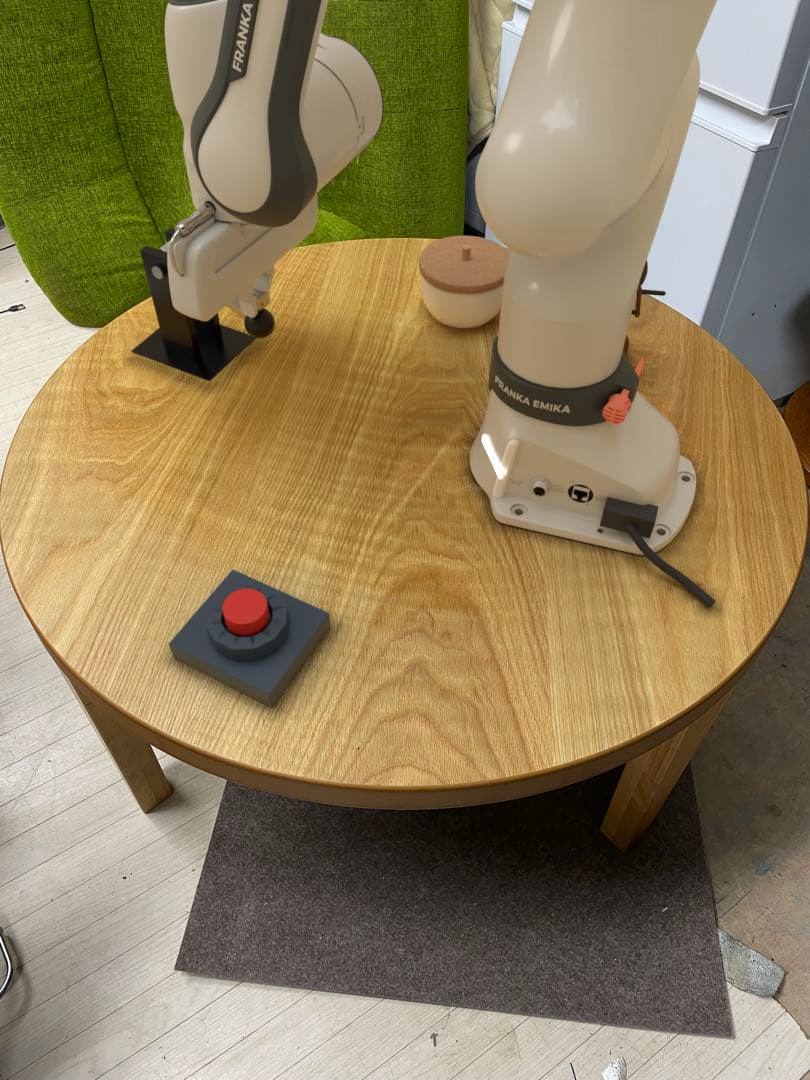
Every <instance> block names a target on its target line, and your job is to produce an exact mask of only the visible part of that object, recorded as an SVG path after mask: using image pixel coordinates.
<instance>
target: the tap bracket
mask: <svg viewBox="0 0 810 1080" xmlns="http://www.w3.org/2000/svg"><path fill="white" fill-rule="evenodd" d="M175 232H176V231H175V228H174V227H169V228H167V230H165V231H164V236H165V241H166V243H167V242H169V241H170V240H171V239H172V237H173V235H174V233H175ZM139 251H140V255H141V260H142V263H143V268H144V272H145V276H146V279H147V283H148V288H149V291H150V296H151V299H152V304H153V308H154V311H155V316H156V319H157V323H158V327H159V328H157V329H156V330H155V331H154V332H152V333H151V334H150V335H149V336H147V337H146V338H144V340H143V341H141V342H140V343H139V344H137V346H135V347H134V348H133V349H132V350H130V352H131V353H133V354H135V355H138V356H141V357H143V358H146V359H149V360H152V361H154V362H157V363H159V364H162V365H164V366H168V367H169V368H172V369H175V370H178V371H180V372H183V373H185V374H188V375H191V376H193V377H196V378H199V379H201V380H205V381H206V382H211V381H212V380H213V379H214V378H215V377H216V376H217V375H219V374H220V372H221V371H222V370H224V369H225V368H226V367H227V366H228V365H229V364H230V363H231V362H232V361H233V360H235V359H236V357H238V356H239V355H240V354H241V353H242V352H243V351H244V350H246V348H247V347H248V346H250V345H251V344H252V343H253V342H254V341H255V340H256V339H257V338H255V337H253V336H251V335H250V334H249V333H245V332H242V331H240V330H237V329H234V328H231V327H229V326H226V325H223V324H221V322H220V318H219V317H220V316H219V312H218V313H217V314H216V315H215V316H213V317H212V318H211V319H210V320H208V321H201V320H197V319H194V318H191V317H189V316H186V315H184V314H182V313H180V312H179V311H177V310H176V309H175V308H174V306H173V303H172V299H171V293H170V285H169V276H168V265H167V253H168V252H165V251H162V250H160V248H156V247H153V246H149V245H144V246H143V247H141V248H140V249H139Z"/></svg>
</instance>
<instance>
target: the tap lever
mask: <svg viewBox="0 0 810 1080" xmlns="http://www.w3.org/2000/svg"><path fill="white" fill-rule="evenodd" d="M170 241H171V240H170ZM170 241H169V242H170ZM169 242H167V241H166V242H165V244H163V245H162V246H161V247H159V250H162V251H165V252H168V244H169ZM225 307H227V308H228V309H229V310H230V311H232V312H233V313H234V314H236V315H237V316H239V317H240V318H241V319H242V320H243V325H244V328H245V331H246V332H247V334H248V335H251V336H253V337H255V338H256V339H259V340H260V339H266V338H268V337H269V336H271V334H272V333H273V332H274V330H275V328H276V327H275V326H276V321H275V317H274V315H273V313H272V312H271V311H270V310H268V309H267V308H266V307H265V308H264V309H263V310H262V311H261V312H259V313H258V314H257V315H256V316H255V317H254V318H252V317H249V316H246V315H244V314H243V313H242V312H241V309H240V303H239V300H238V299H237V298H234V299H233V300H232V301H231V302H230V303H229V304H227V305H226V306H225Z"/></svg>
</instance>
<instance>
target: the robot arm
mask: <svg viewBox="0 0 810 1080" xmlns="http://www.w3.org/2000/svg"><path fill="white" fill-rule="evenodd" d="M328 2H329V0H169V1H168V3H167V5H166V9H165V15H164V45H165V54H166V63H167V68H168V77H169V80H170V82H169V83H170V87H171V95H172V99H173V103H174V108H175V109H176V112H177V114H178V116H179V119H180V120H181V124H182V128H183V142H182V151H183V157H184V164H185V169H186V174H187V178H188V179H187V180H188V184H189V188H190V189H189V190H190V194H191V200H192V204H193V207H194V209H195V210H194V211H193V212H192V213H191V214H190V215H189V216H188V217H186V218H183V219H182V220H180V221H179V222H178V223H177V224H176V225H175V227H174V229H175V231H176V232H175V233H174V235H173V237H172V239H171V241H170V242H169V244H168V253H167V265H168V276H169V285H170V293H171V299H172V303H173V306H174V308H175V309H176V310H177V311H179V312H180V313H182V314H184V315H186V316H189V317H191V318H194V319H197V320H201V321H208V320H210V319H211V318H212V317H213V316H215V315H216V314H217V313H218V314H219V312H221V311H222V310H223V309H224V308H225V307H227V306H226V305H227V304H229V303H230V302H231V301H232V300H233V299H234V298H237V299H238V300H239V303H240V309H241V312H242V313H243V314H244V315H246V316H249V317H252V318H254V317H255V316H256V315H257V314H258V313H259V312H261V311H262V310H263V309H264V308H265V309H266V307H268V306H269V305H270V304H271V302H272V301H271V292H270V290H271V287H272V284H273V279H274V276H275V272H276V269H275V265H276V264H277V262H279V261H280V260H281V259H283V258H284V257H285V256H286V255H287V254H288V253H290V252H291V251H292V250H293V249H294V248H295V247H297V245H299V244H300V243H301V242H302V241H303V240H304V239H306V238H307V237H308V236H309V235H311V234H312V233H313V232H314V230H315V228H316V225H317V221H318V218H319V199H318V193H319V192H320V191H321V190H322V189H323V188H324V187H325V186H327V184H329V183H330V182H331V181H332V180H333V179H334V178H335V177H336V176H337V175H338V174H340V172H342V171H343V170H344V169H345V168H346V167H348V165H349V164H350V163H351V162H352V161H353V160H354V159H355V158H357V156H359V155H360V153H362V151H364V150H365V149H366V147H368V145H369V144H370V143H371V142H372V141H373V140H374V139H375V138H376V137H377V135H378V134H379V131H380V129H381V126H382V123H383V118H384V97H383V91H382V87H381V84H380V81H379V79H378V75H377V74H376V70H375V69H374V68H373V65H372V64H371V63H370V61H369V60H368V59H367V57H366V56H365V54H364V53H363V52H361V51H360V50H359V49H358V48H357V47H356V46H355V45H354V44H352V43H350V42H349V41H347V40H345V39H344V38H342V37H339V36H335V35H326V34H324V33H322V27H323V24H324V20H325V16H326V12H327V11H326V10H327V6H328ZM717 3H718V0H534V1H533V3H532V7H531V10H530V12H529V15H528V18H527V21H526V24H525V28H524V31H523V34H522V37H521V40H520V43H519V46H518V49H517V53H516V55H515V59H514V62H513V65H512V69H511V72H510V76H509V79H508V83H507V87H506V90H505V92H504V95H503V98H502V102H501V105H500V108H499V111H498V115H497V118H496V120H495V122H494V124H493V127H492V128H491V132H490V134H489V136H488V138H487V141H486V143H485V145H484V148H483V149H482V152H481V154H480V157H479V159H478V163H477V166H476V170H475V177H474V178H475V179H474V181H475V182H474V190H475V198H476V202H477V205H478V209H479V211H480V214H481V217H482V218H483V220H484V222H485V224H486V226H487V228H488V229H489V230H490V231H491V232H492V233H491V234H493V235H494V237H496V238H497V240H498V241H499V242H500V243H502V244H503V245H504V246H505V247H507V248H508V249H509V250H510V251H509V256H508V259H507V263H506V267H505V273H504V283H503V293H502V303H501V309H500V314H499V315H500V316H499V323H498V335H496V336H495V337H494V338H493V341H492V342H493V343H492V348H491V351H490V357H489V361H488V362H489V363H488V372H487V373H488V385H487V386H488V390H489V398H488V402H487V406H486V409H485V410H486V411H485V413H484V417H483V421H482V422H481V425H480V429H479V431H478V433H477V435H476V438H475V439H474V442H473V443H472V445H471V449H470V451H469V467H470V471H471V473H472V476H473V477H474V480H475V481H476V483H477V484H478V486H480V488H481V489H482V491H484V493H485V495H486V496H487V497H488V499H489V504H490V509H491V513H492V515H493V517H494V519H495V520H497V522H499V523H501V524H504V525H508V526H511V527H517V528H521V529H525V530H530V531H534V532H538V533H542V534H547V535H552V536H556V537H560V538H563V539H568V540H573V541H578V542H581V543H586V544H591V545H594V546H595V545H596V546H599V547H604V548H608V549H612V550H617V551H621V552H625V553H630V554H634V555H638V556H645V557H646V559H647V560H649V561H650V563H652V564H653V565H654V566H655V567H656V568H658V569H659V570H660V571H661V572H663V573H664V574H666V575H667V576H669V577H670V578H672V579H673V580H675V581H676V582H678V583H679V584H680V585H681V586H683V587H684V588H685V589H687V590H688V591H689V592H690V593H691V594H693V596H695V597H696V598H697V599H698V600H699V601H700V602H702V603H703V604H704V605H705V606H707V607H708V608H712V606H714V605H715V603H716V599H714V598H713V597H712V595H710V594H708V593H707V592H706V591H705V590H704V589H702V587H700V586H699V585H698V584H697V583H695V582H694V581H693V580H692V579H690V578H689V577H688V576H687V575H685V574H684V573H682V572H681V571H680V570H678V569H677V568H675V567H674V566H672V565H671V564H669V563H668V562H666V561H665V560H664V559H663V558H661V557H660V556H659V555H658V554H657V552H659V551H661V550H662V549H665V547H667V546H668V545H669V544H670V543H671V542H672V541H673V540H674V539H675V538H676V536H678V535H679V533H680V531H681V530H682V529H683V527H684V525H685V523H686V521H687V519H688V518H689V515H690V513H691V510H692V507H693V504H694V501H695V500H694V499H695V495H696V490H697V474H696V470H695V468H694V465H693V463H692V461H691V460H690V459H689V458H687V457H686V456H683V455H681V445H680V437H679V433H678V431H677V428H676V427H675V425H674V423H672V422H671V421H670V420H669V419H668V418H666V416H664V415H663V414H662V413H661V412H660V411H659V410H658V409H657V408H656V406H654V405H653V404H652V403H651V402H650V401H649V400H648V399H647V398H646V397H645V396H643V394H642V393H640V392H639V390H638V386H639V383H640V377H641V375H642V373H643V369H644V363H645V358H644V357H642V358H641V359H640V361H639V362H638V364H637V366H636V367H635V369H634V367H633V365H632V364H631V363H630V362H629V360H628V357H626V356H625V353H624V350H623V347H624V343H625V339H626V335H627V336H628V331H629V326H630V321H631V317H632V315H631V314H632V310H634V305H635V302H636V297H637V289H638V285H639V282H640V278H641V275H642V272H643V269H644V266H645V263H646V260H647V261H648V257H649V254H650V252H651V249H652V246H653V243H654V240H655V238H656V234H657V231H658V228H659V225H660V222H661V219H662V217H663V213H664V210H665V208H666V204H667V201H668V197H669V194H670V191H671V188H672V186H673V182H674V179H675V175H676V172H677V170H678V165H679V162H680V159H681V156H682V153H683V150H684V146H685V142H686V138H687V135H688V132H689V128H690V126H691V121H692V118H693V115H694V112H695V108H696V104H697V100H698V96H699V90H700V83H701V65H700V64H701V63H700V59H699V55H698V52H697V49H698V46H699V44H700V42H701V40H702V37H703V35H704V33H705V30H706V27H707V25H708V23H709V20H710V18H711V16H712V13H713V11H714V9H715V7H716V4H717Z"/></svg>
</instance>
